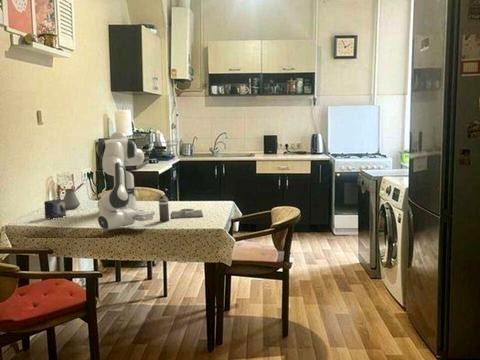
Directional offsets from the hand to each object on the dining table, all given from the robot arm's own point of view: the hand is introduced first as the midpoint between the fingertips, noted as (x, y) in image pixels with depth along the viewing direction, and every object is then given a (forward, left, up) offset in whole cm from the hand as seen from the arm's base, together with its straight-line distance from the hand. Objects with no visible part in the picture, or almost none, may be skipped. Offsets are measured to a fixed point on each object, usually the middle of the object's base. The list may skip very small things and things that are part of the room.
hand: (147, 212), depth 264 cm
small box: (-57, +33, -7) cm, 66 cm away
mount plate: (+21, +21, -7) cm, 31 cm away
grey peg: (+8, +8, -7) cm, 14 cm away
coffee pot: (-52, +66, -7) cm, 84 cm away
